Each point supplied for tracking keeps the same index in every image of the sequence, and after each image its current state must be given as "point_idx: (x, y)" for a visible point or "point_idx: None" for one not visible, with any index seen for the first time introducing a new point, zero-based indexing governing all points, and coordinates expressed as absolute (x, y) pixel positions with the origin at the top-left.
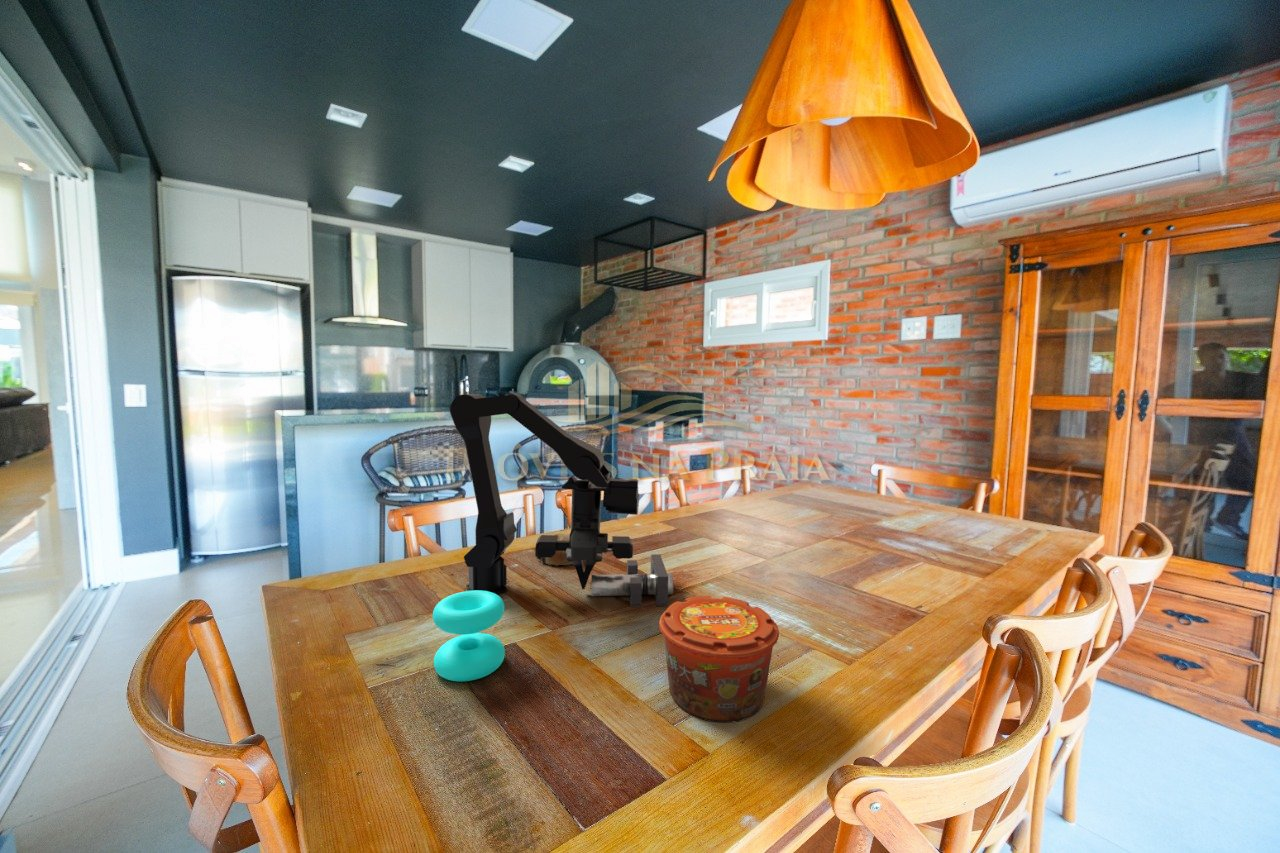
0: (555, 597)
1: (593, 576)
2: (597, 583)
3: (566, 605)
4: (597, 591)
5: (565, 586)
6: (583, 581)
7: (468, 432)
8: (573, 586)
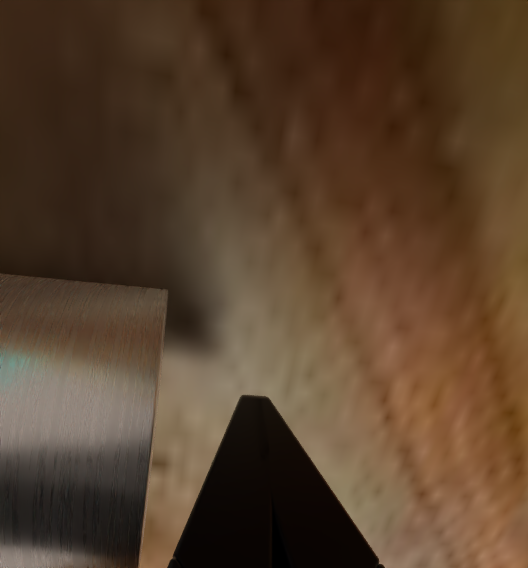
0: (512, 338)
1: (105, 528)
2: (47, 377)
3: (481, 140)
4: (77, 288)
5: (367, 501)
6: (266, 463)
7: None
8: None
